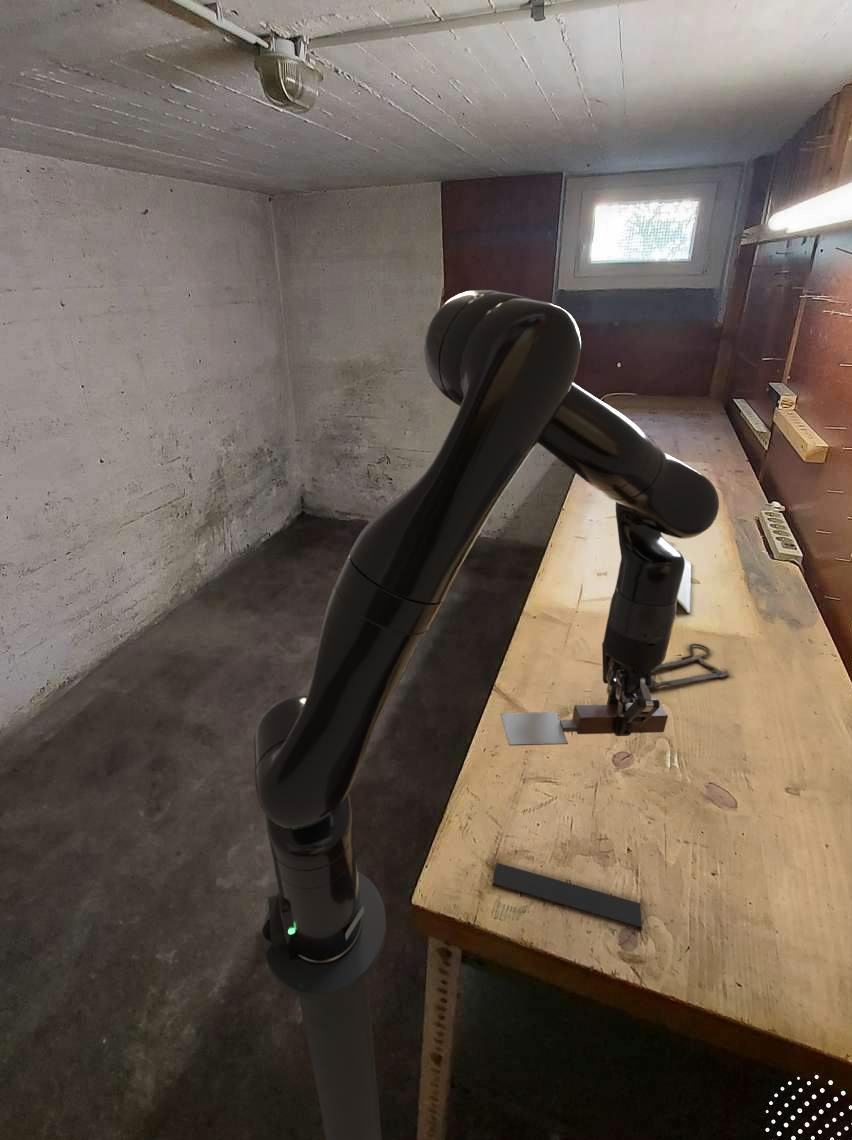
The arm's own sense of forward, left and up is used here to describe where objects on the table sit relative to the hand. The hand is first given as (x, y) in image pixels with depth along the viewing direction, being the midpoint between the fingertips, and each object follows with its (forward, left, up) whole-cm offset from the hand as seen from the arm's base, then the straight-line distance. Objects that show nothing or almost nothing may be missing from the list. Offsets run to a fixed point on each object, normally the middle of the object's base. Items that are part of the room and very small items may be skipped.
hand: (617, 725), depth 78 cm
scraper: (-5, +1, 0) cm, 5 cm away
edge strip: (-13, -12, -14) cm, 23 cm away
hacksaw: (+29, +23, -15) cm, 40 cm away
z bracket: (+50, +52, -15) cm, 74 cm away
